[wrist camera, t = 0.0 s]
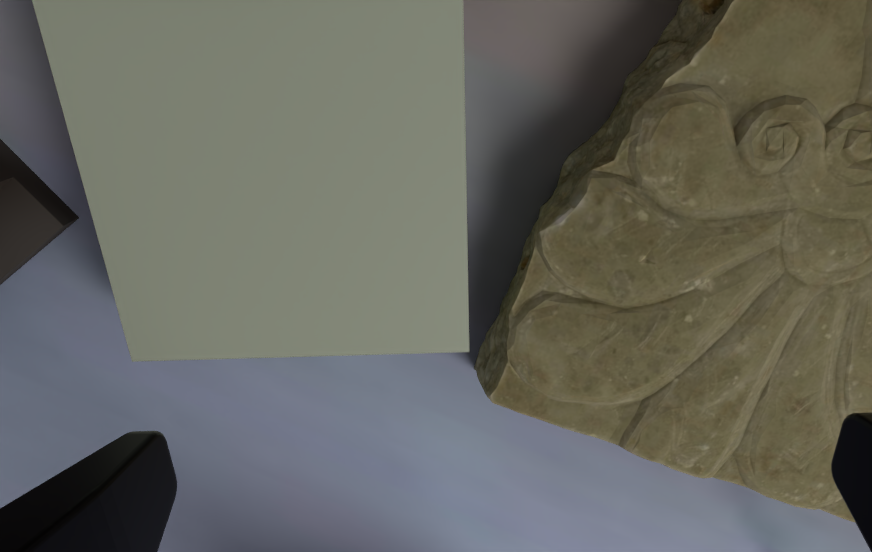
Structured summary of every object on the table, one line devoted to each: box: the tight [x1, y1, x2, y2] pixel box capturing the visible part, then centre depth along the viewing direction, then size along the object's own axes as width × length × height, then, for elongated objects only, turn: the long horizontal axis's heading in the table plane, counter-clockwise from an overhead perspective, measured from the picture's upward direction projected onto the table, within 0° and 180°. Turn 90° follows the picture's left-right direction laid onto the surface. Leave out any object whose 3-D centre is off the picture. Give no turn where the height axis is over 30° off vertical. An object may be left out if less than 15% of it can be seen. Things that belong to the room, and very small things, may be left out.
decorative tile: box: [474, 0, 872, 522], centre depth 21 cm, size 18×20×4 cm
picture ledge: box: [32, 0, 469, 361], centre depth 19 cm, size 14×12×4 cm
